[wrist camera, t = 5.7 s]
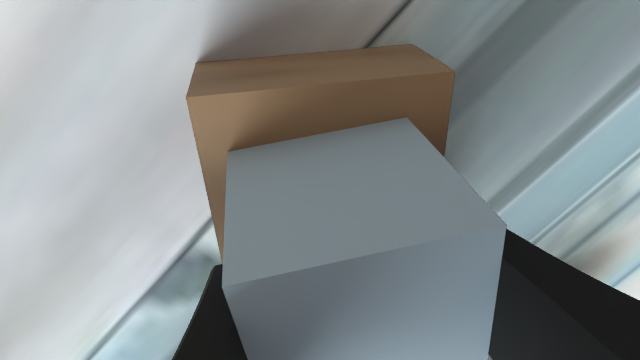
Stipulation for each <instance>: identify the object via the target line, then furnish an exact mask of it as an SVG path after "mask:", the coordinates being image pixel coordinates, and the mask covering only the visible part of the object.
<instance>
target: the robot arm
mask: <svg viewBox="0 0 640 360" xmlns="http://www.w3.org/2000/svg"><path fill="white" fill-rule="evenodd" d="M222 272H223V264H220V265H216V266H214V268H213V269H212V270H211V273H210V276H209V278H208V281H207V284H206V286H205V289H204V291H203V294H202V296H201V298H200V301H199V303H198V305H197V308H196V310H195V312H194V315H193V317H192V319H191V321H190V323H189V325H188V328H187V330H186V332H185V334H184V336H183V338H182V340H181V342H180V344H179V346H178V349H177V351H176V353H175V355H174V356H173V358H172V360H248V359H247V356H246V353H245V351H244V348H243V345H242V342H241V339H240V337H239V334H238V331H237V328H236V325H235V322H234V320H233V317H232V314H231V311H230V308H229V306H228V303H227V300H226V297H225V294H224V291H223V289H222ZM488 353H489V355H490V357H491V358H492V360H640V301H639V300H637V299H635V298H633V297H631V296H629V295H627V294H625V293H623V292H620V291H618V290H616V289H614V288H612V287H611V286H609V285H607V284H605V283H603V282H601V281H599V280H597V279H595V278H593V277H591V276H589V275H587V274H585V273H583V272H581V271H579V270H578V269H576V268H574V267H572V266H570V265H568V264H566V263H565V262H563V261H561V260H559V259H557V258H556V257H554V256H552V255H550V254H549V253H547V252H545V251H543V250H542V249H540V248H538V247H537V246H535V245H533V244H531V243H530V242H528V241H526V240H525V239H523V238H521V237H520V236H518V235H516V234H515V233H513V232H511V231H509V230H508V229H506V233H505V240H504V247H503V254H502V261H501V268H500V275H499V282H498V289H497V296H496V303H495V310H494V317H493V324H492V331H491V338H490V345H489V352H488Z"/></svg>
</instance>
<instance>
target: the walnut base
mask: <svg viewBox="0 0 640 360" xmlns="http://www.w3.org/2000/svg"><path fill="white" fill-rule="evenodd" d="M454 76H455V71H454V70H452V69H451V68H449V67H448V66H446V65H445V64H443V63H441V62H440V61H438V60H437V59H435V58H433V57H432V56H430V55H429V54H427V53H426V52H424V51H422V50H421V49H419V48H418V47H416V46H414V45H413V44H409V45H397V46H386V47H374V48H363V49H351V50H340V51H328V52H317V53H305V54H294V55H282V56H271V57H259V58H248V59H236V60H224V61H213V62H201V63H196V65H195V68H194V72H193V75H192V79H191V82H190V86H189V89H188V92H187V96H186V100H187V104H188V109H189V113H190V118H191V122H192V127H193V132H194V136H195V141H196V145H197V150H198V154H199V159H200V164H201V168H202V173H203V177H204V182H205V186H206V191H207V196H208V200H209V205H210V209H211V214H212V218H213V223H214V228H215V232H216V237H217V241H218V246H219V250H220V255H221V260H222V264H223V247H224V222H225V197H226V172H227V152H229V151H235V150H240V149H245V148H250V147H255V146H260V145H265V144H271V143H276V142H281V141H286V140H291V139H296V138H302V137H307V136H312V135H317V134H322V133H328V132H333V131H338V130H343V129H349V128H354V127H359V126H364V125H369V124H375V123H380V122H385V121H390V120H395V119H401V118H406V117H407V118H408V119H409V120H410V121H411V122H412V123H413V124H414V126H415V127H416V128H417V129H418V130H419V131H420V132H421V133H422V134H423V135H424V136H425V137H426V138H427V140H428V141H429V142H430V143H431V144H432V145H433V146H434V147H435V148H436V149H437V150H438V151H439V152H440V154H441V155H442V156H443V157H444V153H445V145H446V138H447V130H448V122H449V115H450V107H451V99H452V92H453V84H454Z"/></svg>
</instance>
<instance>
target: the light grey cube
mask: <svg viewBox="0 0 640 360" xmlns="http://www.w3.org/2000/svg"><path fill="white" fill-rule="evenodd" d="M506 226H507V225H506V224H505V222H504V221H503V220H502V219H501V218H500V217H499V216H498V215H497V214H496V213H495V212H494V211H493V210H492V208H491V207H490V206H489V205H488V204H487V203H486V202H485V201H484V200H483V199H482V198H481V197H480V196H479V194H478V193H477V192H476V191H475V190H474V189H473V188H472V187H471V186H470V185H469V184H468V183H467V182H466V180H465V179H464V178H463V177H462V176H461V175H460V174H459V173H458V172H457V171H456V170H455V169H454V168H453V166H452V165H451V164H450V163H449V162H448V161H447V160H446V159H445V158H444V157H443V156H442V155H441V154H440V152H439V151H438V150H437V149H436V148H435V147H434V146H433V145H432V144H431V143H430V142H429V141H428V140H427V138H426V137H425V136H424V135H423V134H422V133H421V132H420V131H419V130H418V129H417V128H416V127H415V126H414V124H413V123H412V122H411V121H410V120H409V119H408V118H407V117H406V118H401V119H395V120H390V121H385V122H380V123H375V124H369V125H364V126H359V127H354V128H349V129H343V130H338V131H333V132H328V133H322V134H317V135H312V136H307V137H302V138H296V139H291V140H286V141H281V142H276V143H271V144H265V145H260V146H255V147H250V148H245V149H240V150H235V151H229V152H227V172H226V197H225V222H224V247H223V272H222V289H223V291H224V294H225V297H226V300H227V303H228V306H229V308H230V311H231V314H232V317H233V320H234V322H235V325H236V328H237V331H238V334H239V337H240V339H241V342H242V345H243V348H244V351H245V353H246V356H247V359H248V360H487V359H488V352H489V345H490V338H491V331H492V324H493V317H494V310H495V303H496V296H497V289H498V282H499V275H500V268H501V261H502V254H503V247H504V240H505V233H506Z"/></svg>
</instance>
